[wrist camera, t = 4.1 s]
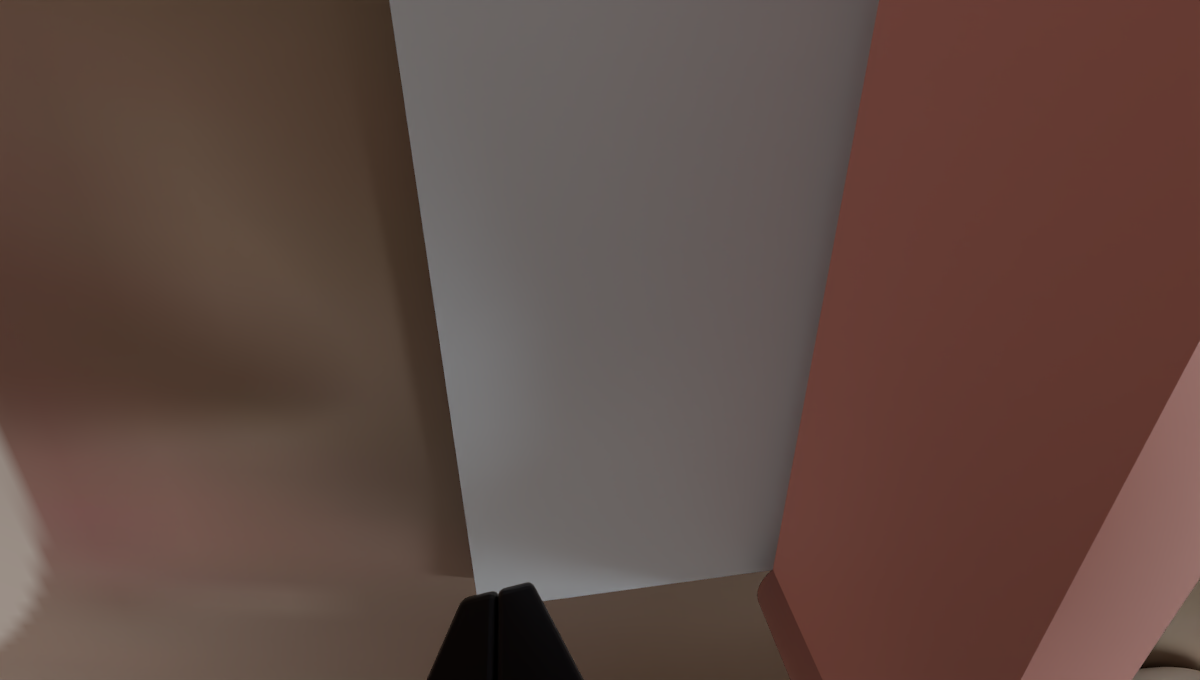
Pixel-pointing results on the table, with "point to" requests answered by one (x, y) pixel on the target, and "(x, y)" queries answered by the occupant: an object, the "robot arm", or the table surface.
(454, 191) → the card
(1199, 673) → the beverage bottle
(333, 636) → the table surface
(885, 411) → the panel
